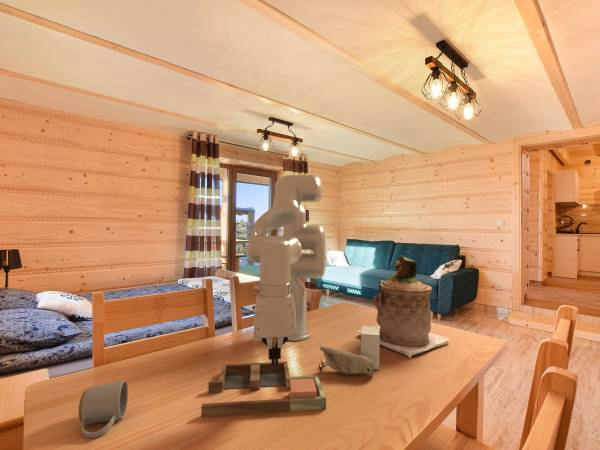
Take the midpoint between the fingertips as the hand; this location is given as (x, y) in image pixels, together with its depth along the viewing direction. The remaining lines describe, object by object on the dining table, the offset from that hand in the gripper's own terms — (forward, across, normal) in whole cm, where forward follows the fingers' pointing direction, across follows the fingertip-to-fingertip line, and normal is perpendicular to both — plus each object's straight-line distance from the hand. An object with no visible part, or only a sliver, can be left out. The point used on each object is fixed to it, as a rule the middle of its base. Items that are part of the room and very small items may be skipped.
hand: (274, 361), depth 78 cm
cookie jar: (+11, +50, +32) cm, 60 cm away
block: (+9, +7, -2) cm, 12 cm away
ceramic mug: (+9, -37, -6) cm, 39 cm away
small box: (+10, +30, +15) cm, 35 cm away
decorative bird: (+10, +21, +9) cm, 25 cm away
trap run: (+9, -2, +3) cm, 10 cm away
